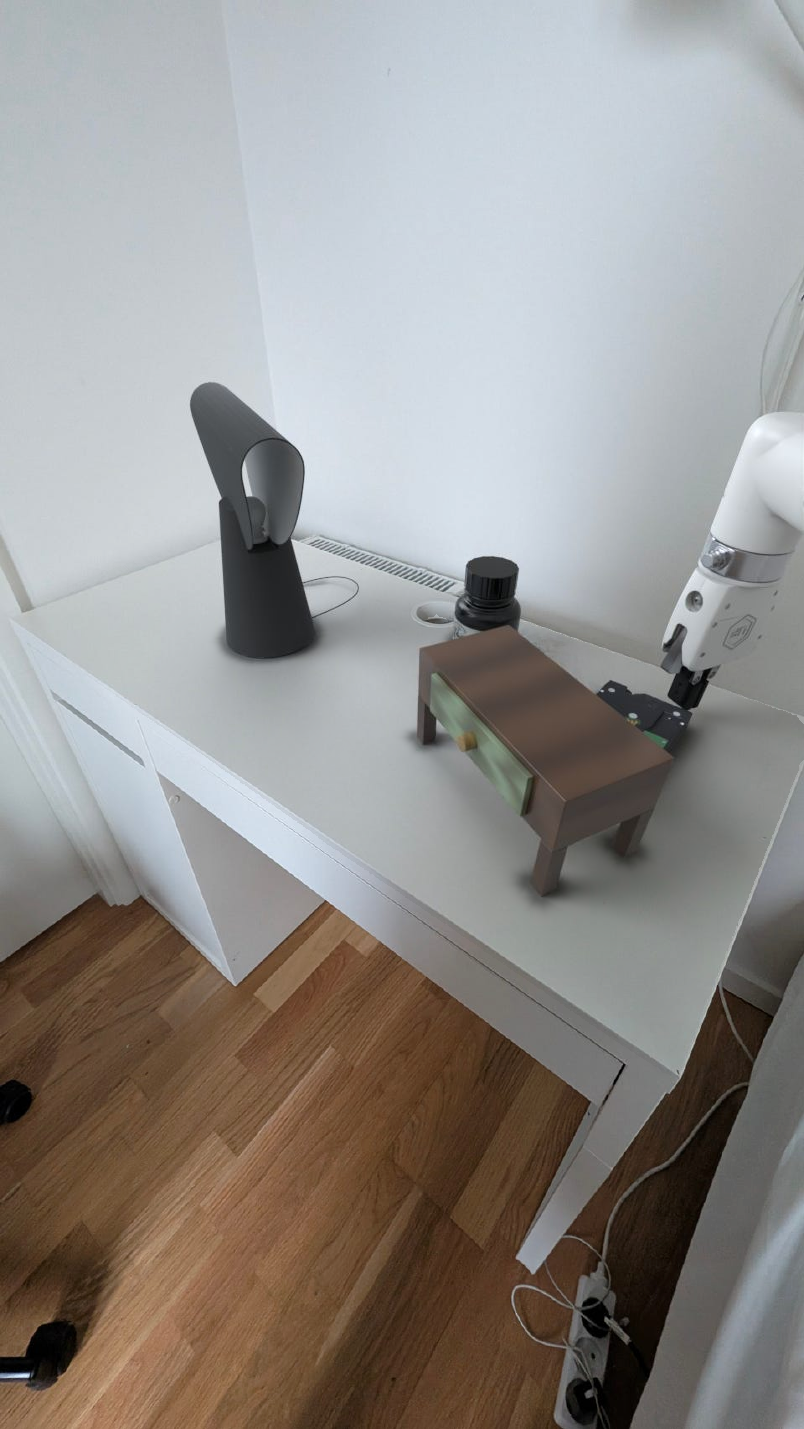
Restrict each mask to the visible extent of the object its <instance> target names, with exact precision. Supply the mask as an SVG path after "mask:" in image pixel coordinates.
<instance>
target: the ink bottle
mask: <svg viewBox="0 0 804 1429" xmlns="http://www.w3.org/2000/svg"><path fill="white" fill-rule="evenodd" d="M519 572H520V568H519V566H518V564H517V563H516V562H514V561H513V560H512V559H508V558H505V557H501V556H495V555H482V556H479V557H473V558H472V559H470V560H468V561H467V563H466V565H465V573H464V584H463V585H464V592H463V593H462V594H460V596H459V597H458V598H457V600H456V601H455V606H454V612H453V613H454V614H453V616H454V617H453V630H452V640H453V639H457V638H460V637H464V636H468V635H472V634H476V633H479V632H483V631H487V630H491V629H495V628H499V627H502V626H506V625H509V626H511V627H512V628H513V629H514V630H516V631H517V632H518V633H519V629H520V622H521V616H522V606H521V604H520V602H519V600H518V599H517V598H516V597H515V596H516V593H517V592H516V590H517V587H518V579H519Z"/></svg>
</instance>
